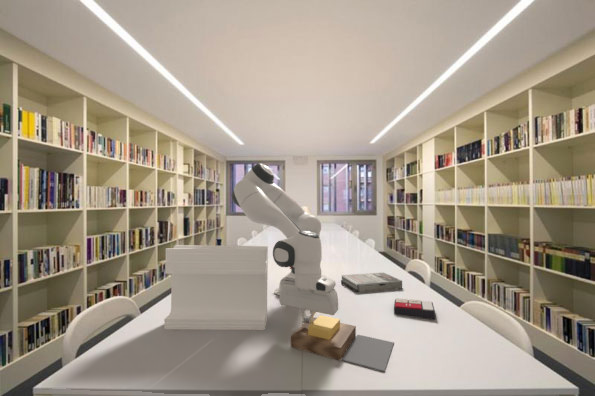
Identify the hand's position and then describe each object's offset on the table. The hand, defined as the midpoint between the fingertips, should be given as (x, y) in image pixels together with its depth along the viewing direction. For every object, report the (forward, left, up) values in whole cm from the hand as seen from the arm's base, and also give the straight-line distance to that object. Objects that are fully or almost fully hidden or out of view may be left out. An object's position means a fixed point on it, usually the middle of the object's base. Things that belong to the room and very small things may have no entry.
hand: (307, 322), depth 93 cm
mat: (+20, +1, -5) cm, 21 cm away
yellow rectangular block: (+6, 0, -1) cm, 6 cm away
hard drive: (+6, +70, -6) cm, 70 cm away
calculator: (+30, +41, -6) cm, 51 cm away
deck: (+6, 0, -5) cm, 8 cm away
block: (-33, -6, -5) cm, 34 cm away
